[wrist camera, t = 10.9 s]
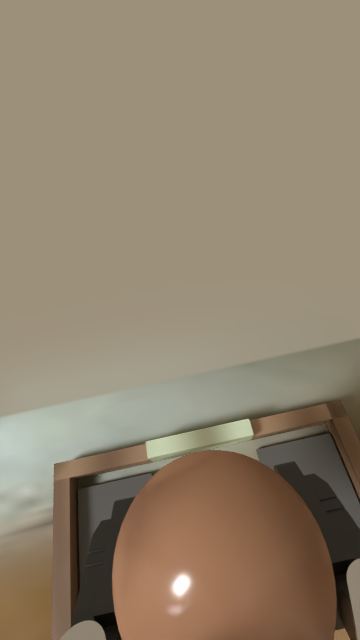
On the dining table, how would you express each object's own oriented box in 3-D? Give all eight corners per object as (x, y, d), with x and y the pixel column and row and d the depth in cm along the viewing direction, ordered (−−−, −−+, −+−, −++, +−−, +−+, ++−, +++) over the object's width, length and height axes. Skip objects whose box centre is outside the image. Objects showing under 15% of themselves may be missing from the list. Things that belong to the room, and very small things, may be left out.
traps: (84, 646, 20) (81, 649, 20) (80, 489, 25) (77, 489, 24) (387, 577, 20) (391, 578, 20) (327, 434, 25) (329, 432, 24)
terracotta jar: (174, 623, 13) (123, 764, 6) (155, 486, 15) (105, 472, 8) (294, 595, 13) (383, 704, 6) (255, 463, 15) (286, 431, 8)
